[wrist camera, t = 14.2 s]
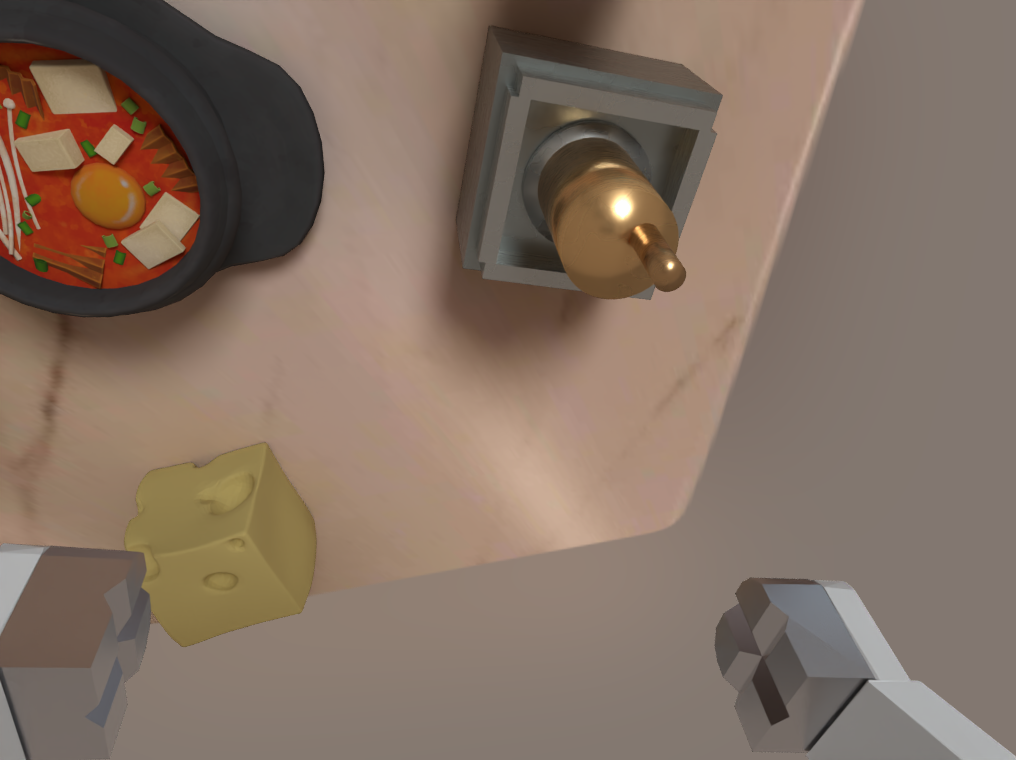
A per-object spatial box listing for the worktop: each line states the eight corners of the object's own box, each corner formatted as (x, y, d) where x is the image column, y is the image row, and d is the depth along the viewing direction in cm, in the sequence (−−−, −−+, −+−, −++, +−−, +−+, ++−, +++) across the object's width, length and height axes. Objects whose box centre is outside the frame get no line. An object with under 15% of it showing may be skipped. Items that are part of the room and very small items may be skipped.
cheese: (144, 469, 58) (102, 568, 50) (273, 434, 57) (251, 529, 49) (207, 551, 64) (178, 652, 56) (323, 521, 63) (312, 618, 55)
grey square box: (455, 219, 48) (465, 284, 41) (488, 25, 42) (507, 61, 34) (625, 244, 51) (661, 308, 44) (682, 64, 44) (736, 105, 37)
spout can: (556, 249, 42) (600, 360, 33) (522, 162, 39) (560, 258, 30) (648, 211, 41) (719, 314, 32) (621, 120, 38) (691, 204, 29)
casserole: (-82, 260, 46) (-166, 330, 39) (-198, -86, 35) (-340, -71, 29) (325, 292, 50) (313, 360, 44) (329, -4, 40) (314, 25, 33)
